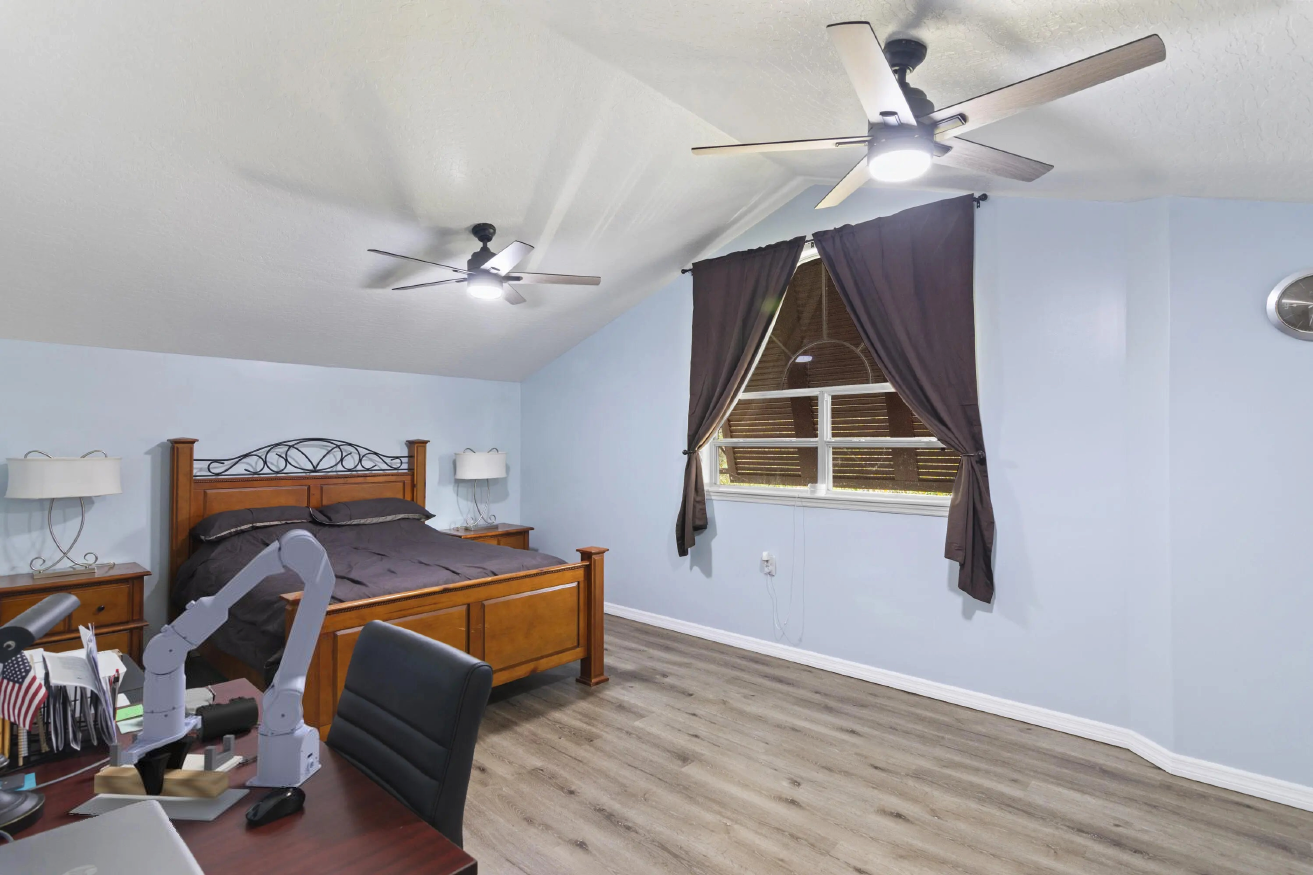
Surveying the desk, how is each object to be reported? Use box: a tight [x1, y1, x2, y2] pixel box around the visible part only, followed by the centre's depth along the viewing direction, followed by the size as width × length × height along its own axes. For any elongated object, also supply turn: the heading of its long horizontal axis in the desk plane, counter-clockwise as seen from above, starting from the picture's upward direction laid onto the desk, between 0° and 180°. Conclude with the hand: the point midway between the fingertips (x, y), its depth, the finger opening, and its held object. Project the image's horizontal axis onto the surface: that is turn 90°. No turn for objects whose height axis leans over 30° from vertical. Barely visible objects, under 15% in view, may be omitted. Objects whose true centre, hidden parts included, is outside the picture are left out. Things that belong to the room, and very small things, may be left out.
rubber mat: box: [68, 788, 250, 821], centre depth 112 cm, size 24×9×1 cm, turn 86°
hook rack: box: [99, 731, 243, 772], centre depth 124 cm, size 22×7×5 cm, turn 86°
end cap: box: [195, 695, 260, 744], centre depth 138 cm, size 10×7×7 cm
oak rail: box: [93, 767, 230, 799], centre depth 112 cm, size 21×3×3 cm, turn 86°
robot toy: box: [185, 685, 223, 718], centre depth 147 cm, size 12×4×15 cm
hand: (162, 788), depth 112 cm, fingers closed on oak rail, 3 cm apart
